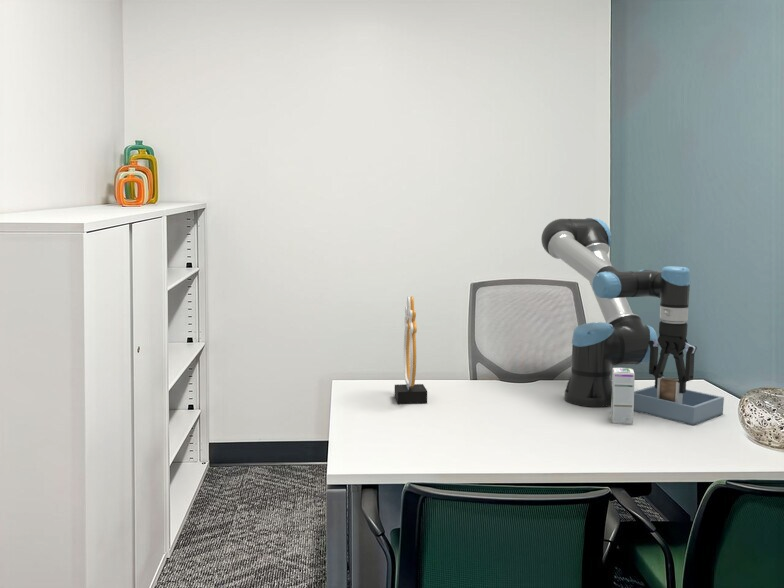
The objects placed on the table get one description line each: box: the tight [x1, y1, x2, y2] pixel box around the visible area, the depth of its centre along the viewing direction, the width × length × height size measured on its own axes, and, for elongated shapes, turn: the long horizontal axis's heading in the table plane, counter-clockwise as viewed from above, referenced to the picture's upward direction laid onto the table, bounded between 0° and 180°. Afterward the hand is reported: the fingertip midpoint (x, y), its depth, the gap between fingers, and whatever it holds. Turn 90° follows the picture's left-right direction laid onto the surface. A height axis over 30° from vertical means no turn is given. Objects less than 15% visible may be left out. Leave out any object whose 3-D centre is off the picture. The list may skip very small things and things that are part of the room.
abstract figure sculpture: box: [394, 296, 428, 405], centre depth 232 cm, size 17×9×32 cm, turn 6°
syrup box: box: [610, 367, 636, 425], centre depth 214 cm, size 6×6×14 cm
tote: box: [634, 384, 725, 426], centre depth 223 cm, size 20×17×5 cm
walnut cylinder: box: [660, 377, 679, 402], centre depth 220 cm, size 5×5×7 cm
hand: (669, 401), depth 220 cm, fingers closed on walnut cylinder, 5 cm apart
